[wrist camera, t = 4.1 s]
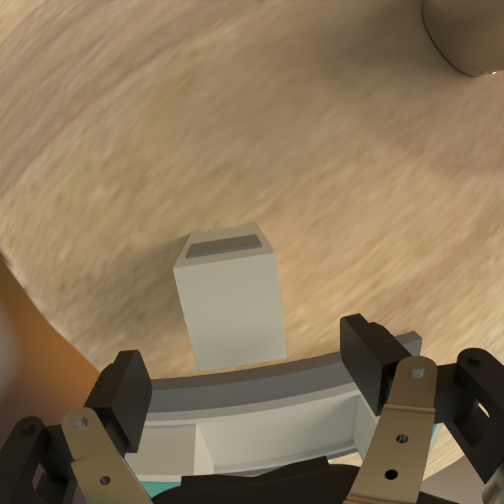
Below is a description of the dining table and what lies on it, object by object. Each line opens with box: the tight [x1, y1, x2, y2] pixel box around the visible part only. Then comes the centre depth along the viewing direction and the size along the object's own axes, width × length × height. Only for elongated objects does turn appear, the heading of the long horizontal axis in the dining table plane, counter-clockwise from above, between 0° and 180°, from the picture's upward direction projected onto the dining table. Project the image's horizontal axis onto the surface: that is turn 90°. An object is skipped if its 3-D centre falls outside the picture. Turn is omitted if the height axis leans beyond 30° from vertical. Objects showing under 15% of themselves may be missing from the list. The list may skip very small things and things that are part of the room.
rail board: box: [124, 331, 443, 497], centre depth 22 cm, size 14×27×8 cm, turn 98°
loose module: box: [173, 223, 287, 371], centre depth 18 cm, size 6×4×8 cm
